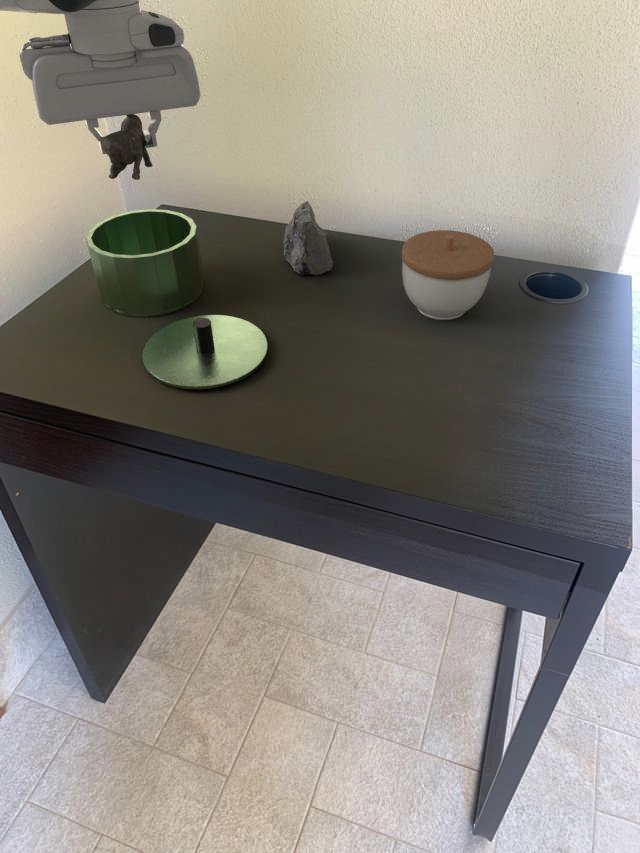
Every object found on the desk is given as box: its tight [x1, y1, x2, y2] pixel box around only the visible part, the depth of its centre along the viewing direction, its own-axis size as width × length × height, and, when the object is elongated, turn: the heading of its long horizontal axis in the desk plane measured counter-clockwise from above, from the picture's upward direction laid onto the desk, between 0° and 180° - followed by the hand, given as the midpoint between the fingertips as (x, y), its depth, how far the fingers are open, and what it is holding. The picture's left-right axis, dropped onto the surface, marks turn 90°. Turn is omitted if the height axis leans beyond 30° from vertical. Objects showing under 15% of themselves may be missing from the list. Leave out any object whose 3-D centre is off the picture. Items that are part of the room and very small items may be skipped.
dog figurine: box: [100, 114, 154, 181], centre depth 89 cm, size 12×6×7 cm, turn 2°
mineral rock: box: [282, 200, 334, 276], centre depth 109 cm, size 13×11×10 cm
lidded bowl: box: [401, 229, 495, 321], centre depth 97 cm, size 13×13×11 cm
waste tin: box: [85, 208, 205, 318], centre depth 102 cm, size 16×16×10 cm
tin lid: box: [142, 314, 269, 390], centre depth 90 cm, size 17×17×5 cm
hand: (129, 149), depth 90 cm, fingers closed on dog figurine, 4 cm apart
